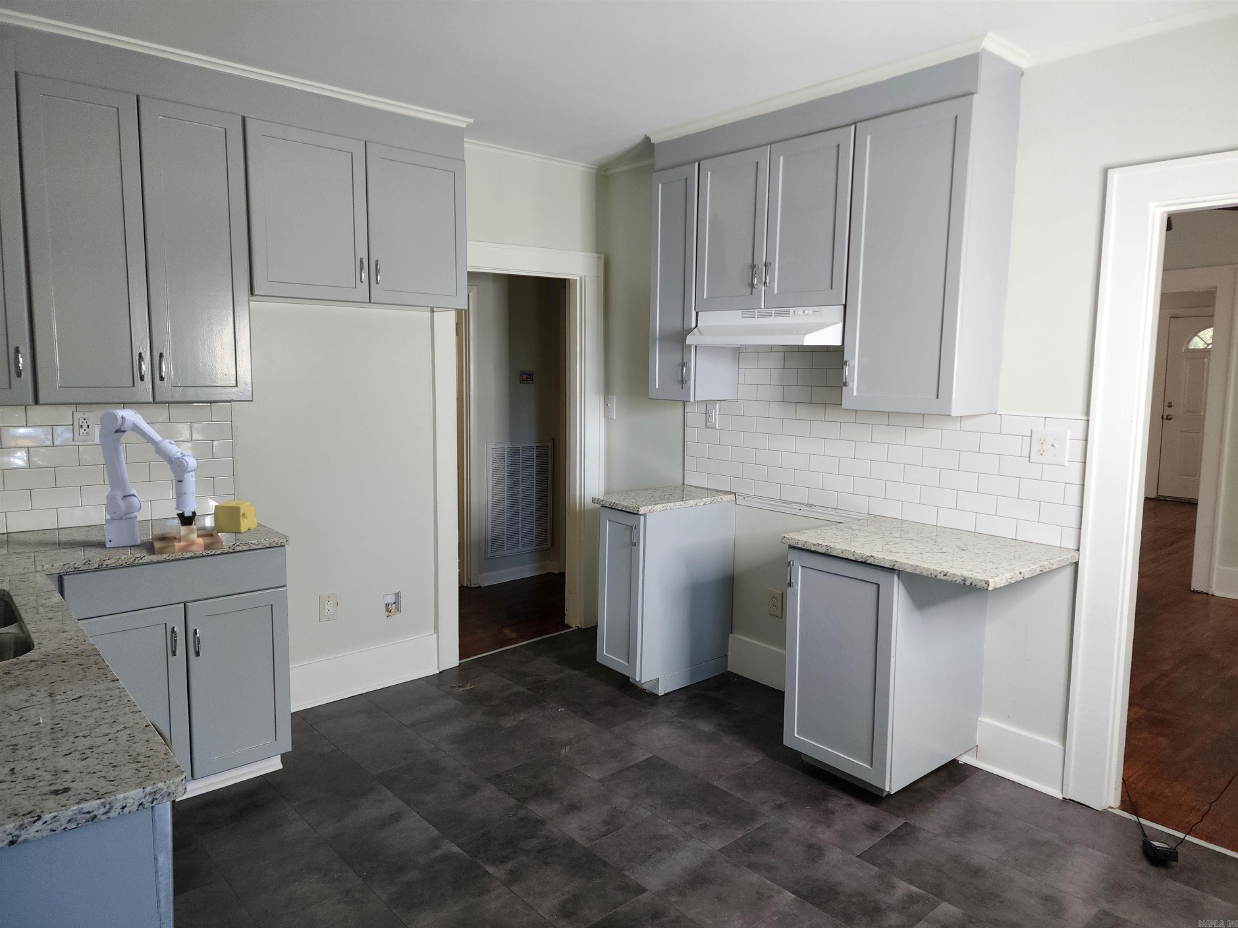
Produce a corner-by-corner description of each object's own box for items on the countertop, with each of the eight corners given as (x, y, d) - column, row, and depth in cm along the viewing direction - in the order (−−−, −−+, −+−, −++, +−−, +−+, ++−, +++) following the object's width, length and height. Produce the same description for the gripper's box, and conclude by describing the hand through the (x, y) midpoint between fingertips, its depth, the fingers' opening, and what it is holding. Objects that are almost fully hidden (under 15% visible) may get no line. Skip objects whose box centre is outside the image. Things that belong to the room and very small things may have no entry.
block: (181, 542, 259) (180, 528, 259) (180, 540, 263) (179, 526, 262) (197, 541, 262) (196, 527, 261) (195, 538, 265) (195, 525, 265)
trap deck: (155, 554, 253) (155, 546, 253) (152, 541, 272) (151, 534, 272) (223, 548, 263) (222, 541, 263) (215, 536, 282) (215, 529, 282)
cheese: (257, 528, 298) (256, 500, 297) (241, 533, 288) (240, 505, 286) (230, 526, 299) (229, 499, 298) (213, 532, 289) (212, 504, 287)
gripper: (201, 495, 260) (203, 537, 261) (197, 489, 272) (198, 529, 273) (176, 496, 256) (178, 539, 257) (173, 490, 268) (174, 531, 270)
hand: (187, 534), depth 265 cm, fingers closed
